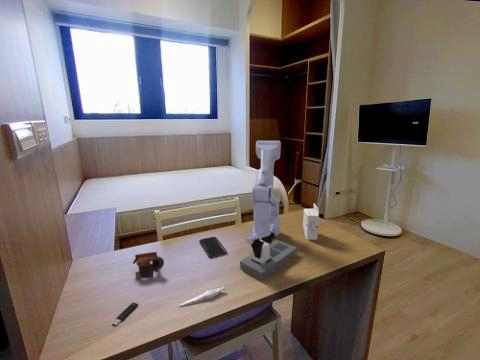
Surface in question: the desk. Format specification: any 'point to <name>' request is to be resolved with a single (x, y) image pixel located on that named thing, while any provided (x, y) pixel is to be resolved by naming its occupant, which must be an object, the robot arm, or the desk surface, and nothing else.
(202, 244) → the phone
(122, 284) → the desk surface
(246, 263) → the power strip
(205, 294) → the white tapered rod
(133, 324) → the desk surface
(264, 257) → the plug
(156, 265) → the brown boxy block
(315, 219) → the ink cartridge box
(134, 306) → the usb flash drive
